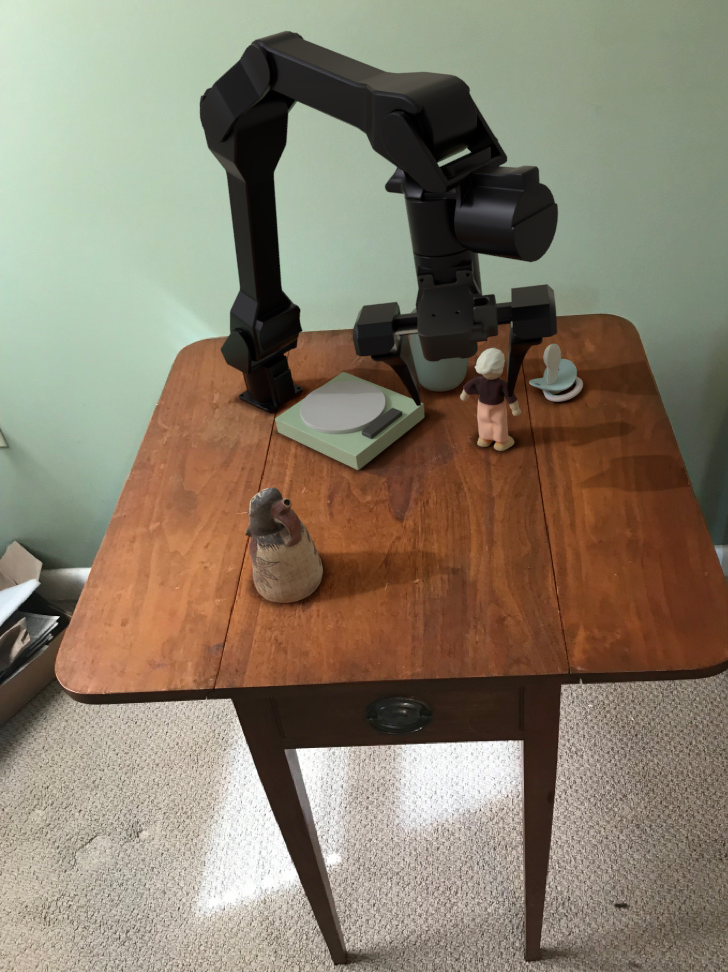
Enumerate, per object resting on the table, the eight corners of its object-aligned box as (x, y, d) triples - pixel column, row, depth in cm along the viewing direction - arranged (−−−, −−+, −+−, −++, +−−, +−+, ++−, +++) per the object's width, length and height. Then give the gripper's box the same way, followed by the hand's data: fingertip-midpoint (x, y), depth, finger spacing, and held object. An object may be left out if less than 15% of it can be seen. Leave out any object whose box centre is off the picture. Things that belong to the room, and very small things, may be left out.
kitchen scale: (278, 432, 99) (273, 414, 98) (345, 385, 106) (342, 367, 104) (358, 470, 93) (355, 452, 91) (424, 417, 99) (423, 399, 97)
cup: (471, 397, 102) (469, 329, 95) (412, 401, 102) (407, 333, 95) (468, 366, 107) (467, 299, 100) (413, 369, 108) (408, 303, 101)
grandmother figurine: (525, 436, 95) (528, 344, 86) (518, 455, 92) (520, 362, 83) (465, 428, 97) (462, 338, 88) (456, 446, 94) (452, 355, 86)
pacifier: (592, 385, 102) (553, 370, 105) (598, 343, 97) (557, 329, 100) (561, 411, 98) (522, 395, 101) (566, 369, 94) (525, 353, 97)
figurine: (290, 545, 84) (268, 459, 76) (337, 573, 81) (320, 485, 72) (242, 585, 80) (213, 499, 72) (289, 615, 77) (264, 529, 68)
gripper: (326, 294, 63) (363, 452, 73) (557, 266, 60) (563, 435, 70) (347, 245, 72) (377, 393, 81) (550, 219, 68) (556, 376, 78)
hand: (464, 399), depth 77 cm, fingers open, 9 cm apart
